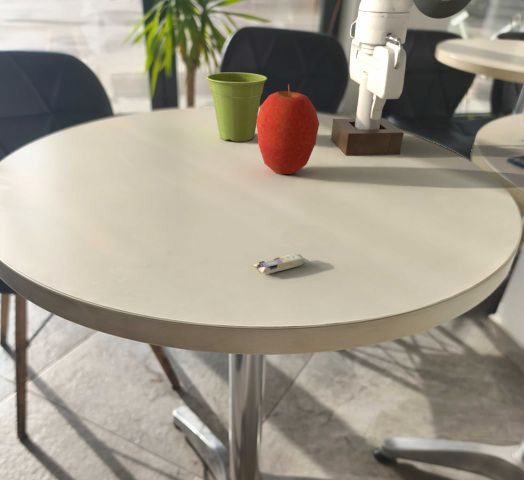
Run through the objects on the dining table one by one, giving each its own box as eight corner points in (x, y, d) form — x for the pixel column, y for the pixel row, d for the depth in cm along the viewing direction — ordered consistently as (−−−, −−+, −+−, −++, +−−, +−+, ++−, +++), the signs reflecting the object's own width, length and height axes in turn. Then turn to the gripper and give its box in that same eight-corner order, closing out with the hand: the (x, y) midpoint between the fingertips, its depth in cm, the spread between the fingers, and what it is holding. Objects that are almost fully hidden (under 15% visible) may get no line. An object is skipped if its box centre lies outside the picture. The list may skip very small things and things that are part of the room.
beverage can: (379, 143, 97) (390, 74, 90) (355, 142, 97) (364, 74, 90) (375, 136, 101) (385, 70, 94) (351, 136, 101) (360, 69, 94)
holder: (381, 138, 105) (384, 118, 103) (399, 154, 97) (404, 132, 94) (330, 139, 104) (333, 118, 101) (345, 155, 95) (348, 133, 93)
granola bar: (299, 257, 61) (299, 249, 61) (309, 265, 60) (310, 257, 59) (251, 269, 59) (251, 261, 58) (260, 277, 57) (260, 270, 57)
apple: (258, 182, 82) (259, 89, 74) (253, 163, 90) (254, 77, 82) (319, 181, 83) (327, 90, 75) (309, 162, 91) (316, 77, 82)
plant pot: (277, 138, 103) (279, 77, 96) (234, 149, 96) (234, 85, 89) (239, 127, 110) (238, 69, 103) (196, 136, 103) (193, 75, 96)
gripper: (421, 38, 80) (404, 128, 89) (379, 25, 96) (368, 103, 105) (384, 38, 79) (370, 129, 88) (348, 24, 95) (339, 103, 104)
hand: (369, 114), depth 96 cm, fingers closed on beverage can, 5 cm apart
